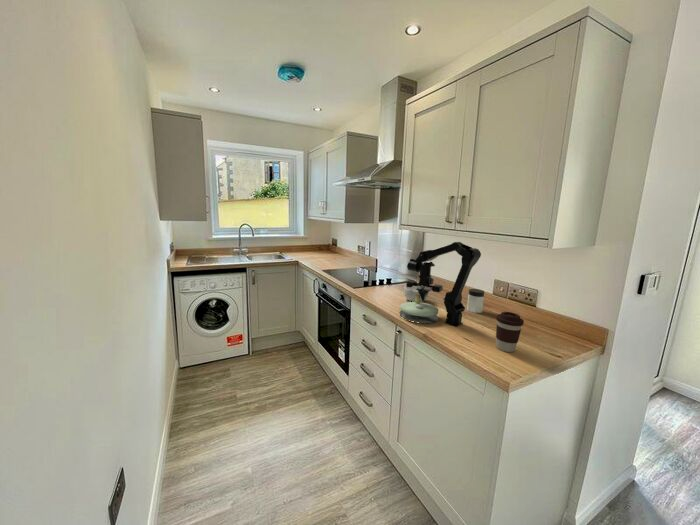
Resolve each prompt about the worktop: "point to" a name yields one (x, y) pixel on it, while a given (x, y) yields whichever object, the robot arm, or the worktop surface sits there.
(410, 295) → the paper bowls
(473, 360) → the worktop surface
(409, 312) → the handwheel
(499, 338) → the coffee cup
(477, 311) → the jar
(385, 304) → the worktop surface
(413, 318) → the grey metal shallow dish
